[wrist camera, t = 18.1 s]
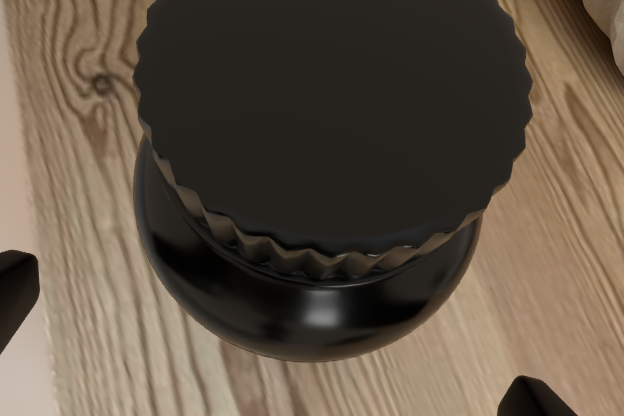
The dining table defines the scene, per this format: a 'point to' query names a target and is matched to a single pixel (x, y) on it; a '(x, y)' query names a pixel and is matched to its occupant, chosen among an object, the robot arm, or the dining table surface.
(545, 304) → the dining table surface
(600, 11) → the seashell
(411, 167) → the supplement bottle
